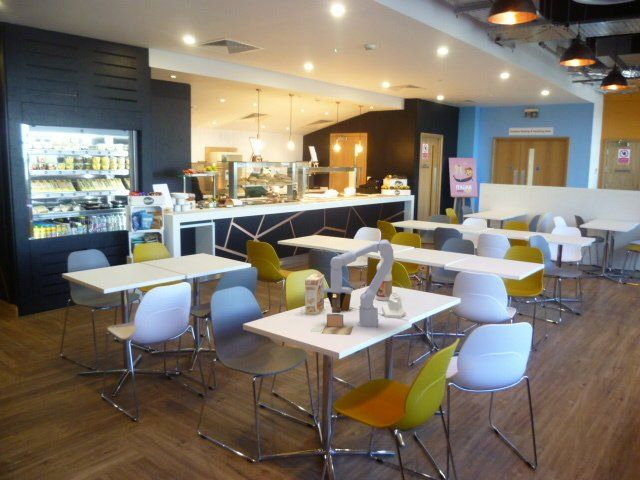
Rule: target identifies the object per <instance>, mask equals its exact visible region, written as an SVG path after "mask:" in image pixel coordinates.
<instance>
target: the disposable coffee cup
mask: <svg viewBox="0 0 640 480" xmlns="http://www.w3.org/2000/svg"><path fill="white" fill-rule="evenodd" d="M342 289H351V294H346V295H345V297H344V300H343V304H342V308H341V312H347V311H349V310H350V305H351V298H352V293H353V290H352V288H351V287H349V286H342ZM340 294H341V293H335V297H340Z"/></svg>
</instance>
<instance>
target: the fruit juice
mask: <svg viewBox="0 0 640 480" xmlns="http://www.w3.org/2000/svg"><path fill="white" fill-rule="evenodd" d="M379 253H380V252H379ZM379 257H380V260H379V262H378V263H377V265H376V273H377V272H378V270H379V268H380V266H381V265H382V263H383V261H384V259H383V256H382V254H381V253H380V255H379ZM392 270H393V266H392V267H391V268H390V270H389V272H388V274H387V275H386V277H385V279H384V281H383V282H382V284H381V286H380V288H379V289H378V291H377V293H376V296H375V298H376V300H377V301H381V302H388V301H389V298H390V295H391V294H392V293H393V274H392Z"/></svg>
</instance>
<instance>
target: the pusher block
mask: <svg viewBox="0 0 640 480" xmlns="http://www.w3.org/2000/svg"><path fill="white" fill-rule="evenodd" d="M341 312H342V311H341V308H340V297H336V296H333V298H332V308H331V314H340V313H341Z"/></svg>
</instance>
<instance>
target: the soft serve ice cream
mask: <svg viewBox="0 0 640 480" xmlns="http://www.w3.org/2000/svg"><path fill="white" fill-rule="evenodd" d="M402 303H403V302H402V298H401V296H400V294H399V293H398V292H397V291H395V290H394V291H393V290H392V294H391V295H390V298H389V301H386V304H384V305H382V306H381V312H382V313H383V315H384V318H385V319H387V318H388V319H390V318H391V319H401V318H403V317H404V316H405V315H406V314H407V313H406V311H405V310H404V309H403V304H402Z"/></svg>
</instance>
